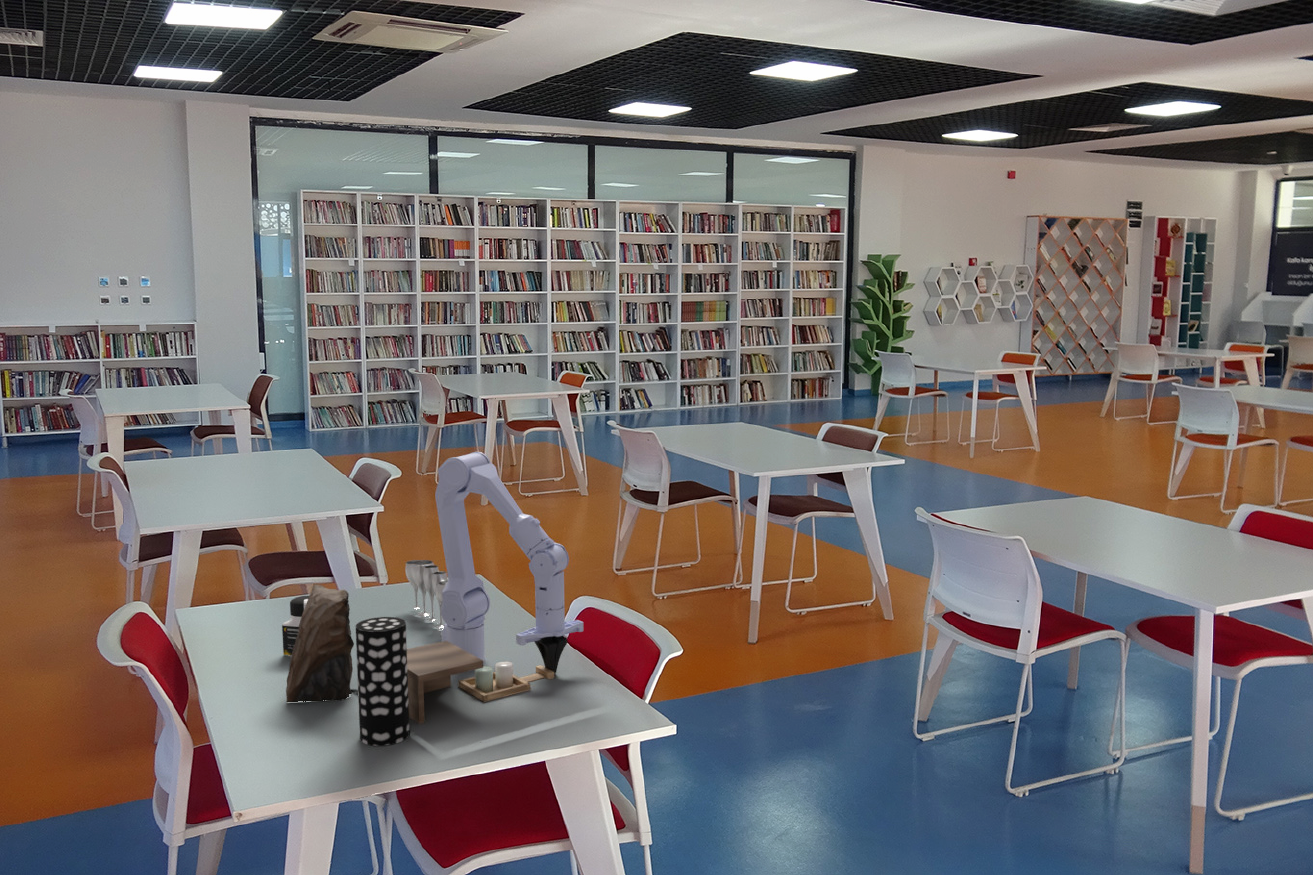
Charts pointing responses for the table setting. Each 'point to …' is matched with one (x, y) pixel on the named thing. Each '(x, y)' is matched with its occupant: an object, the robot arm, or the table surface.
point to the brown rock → (322, 649)
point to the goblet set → (427, 583)
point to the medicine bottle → (293, 624)
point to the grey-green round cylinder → (484, 679)
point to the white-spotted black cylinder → (382, 680)
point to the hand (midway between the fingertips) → (551, 672)
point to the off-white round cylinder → (504, 674)
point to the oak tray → (517, 687)
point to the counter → (434, 671)
